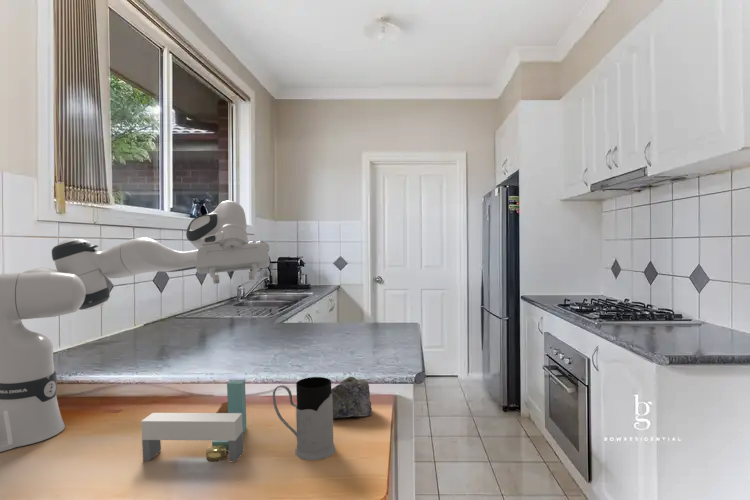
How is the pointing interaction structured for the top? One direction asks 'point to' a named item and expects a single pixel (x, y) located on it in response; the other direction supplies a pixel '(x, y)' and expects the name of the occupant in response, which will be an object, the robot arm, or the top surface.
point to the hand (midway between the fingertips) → (234, 280)
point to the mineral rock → (351, 398)
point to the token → (216, 453)
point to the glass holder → (312, 418)
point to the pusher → (235, 405)
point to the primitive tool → (223, 408)
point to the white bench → (192, 430)
